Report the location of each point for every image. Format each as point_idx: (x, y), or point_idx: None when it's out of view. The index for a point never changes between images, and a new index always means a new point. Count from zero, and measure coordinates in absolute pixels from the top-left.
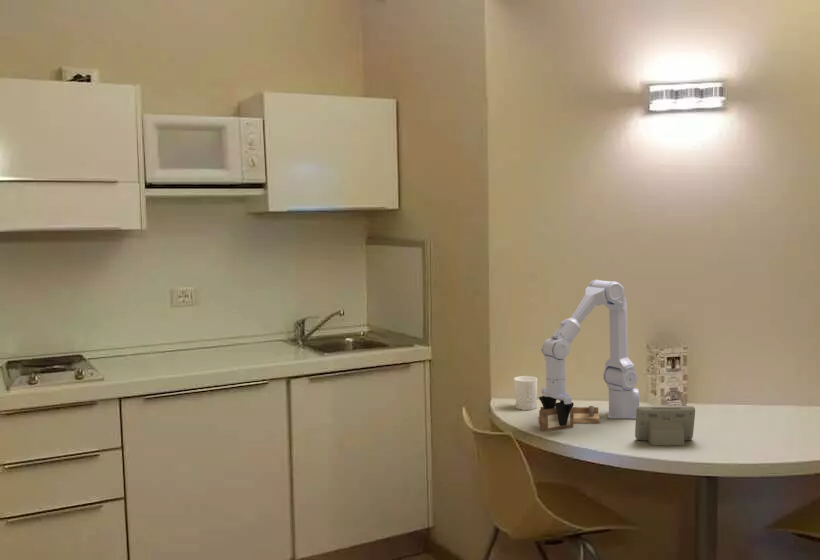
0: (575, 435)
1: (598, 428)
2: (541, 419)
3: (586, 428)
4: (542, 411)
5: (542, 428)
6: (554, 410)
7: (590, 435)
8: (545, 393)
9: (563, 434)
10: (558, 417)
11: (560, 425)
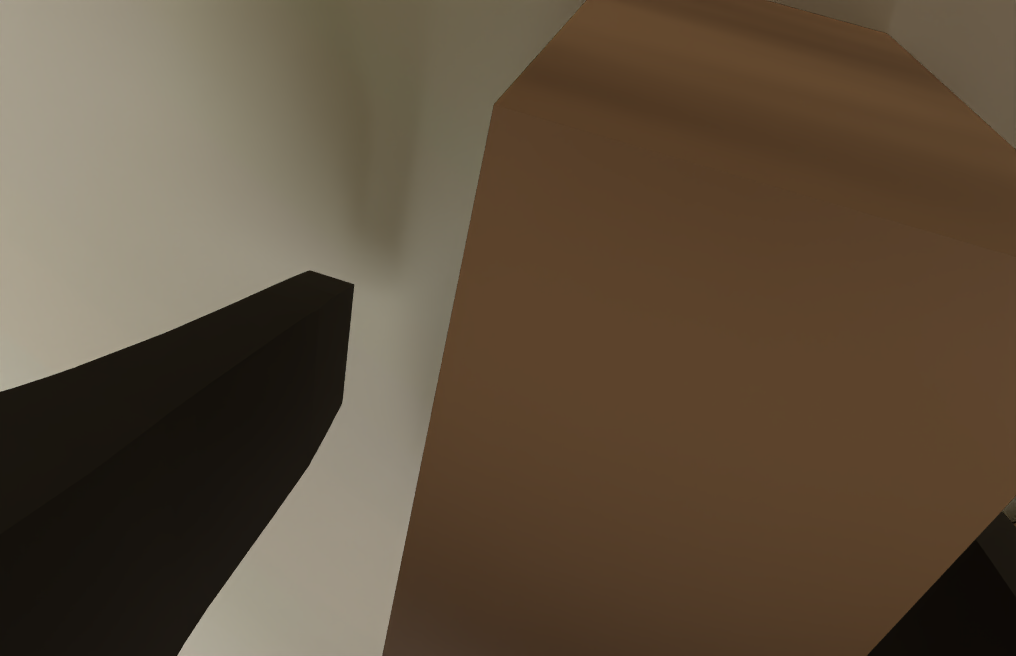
0: (82, 237)
1: (253, 625)
2: (814, 77)
3: (323, 569)
4: (759, 212)
5: (736, 3)
6: (465, 630)
7: (19, 375)
8: None
9: (213, 132)
10: (200, 362)
11: (302, 274)
